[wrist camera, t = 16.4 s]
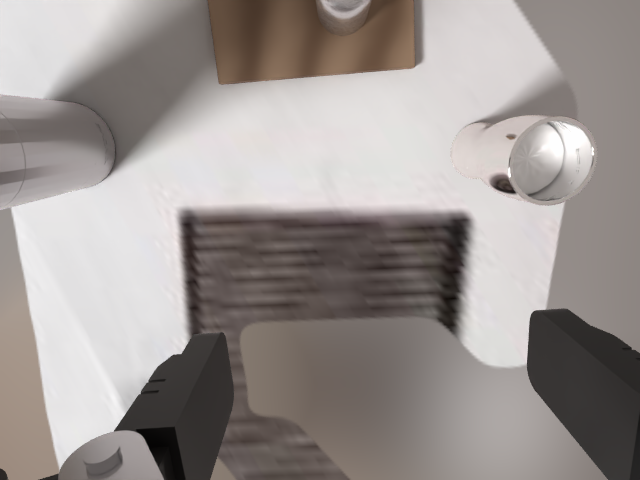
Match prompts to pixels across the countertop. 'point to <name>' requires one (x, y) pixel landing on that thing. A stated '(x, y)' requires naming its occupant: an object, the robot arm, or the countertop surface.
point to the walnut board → (306, 40)
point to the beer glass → (528, 157)
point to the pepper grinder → (342, 15)
